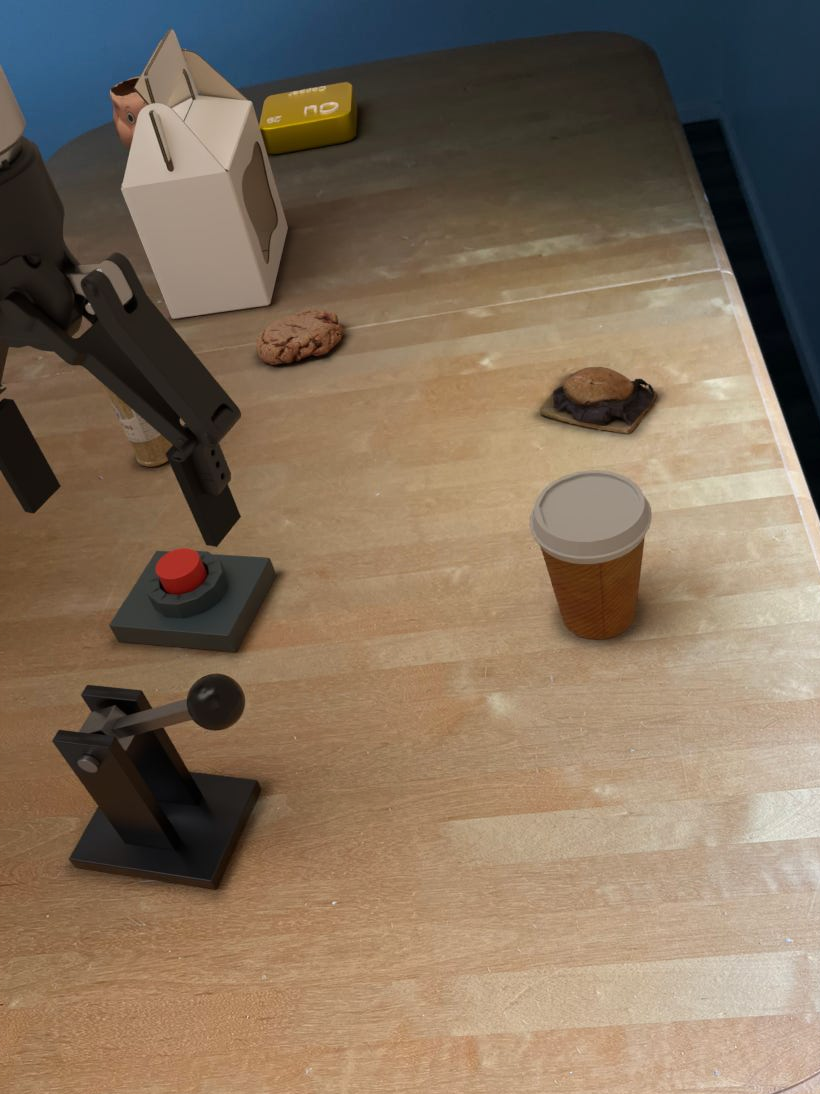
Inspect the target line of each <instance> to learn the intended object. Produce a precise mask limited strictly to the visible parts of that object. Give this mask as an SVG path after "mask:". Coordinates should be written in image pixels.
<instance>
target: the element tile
mask: <svg viewBox="0 0 820 1094" xmlns="http://www.w3.org/2000/svg"><path fill="white" fill-rule="evenodd" d="M353 87H354V86H353V85H352V83H350V82H349V81H344V82H337V83H332V84H331V83H330V84H327V85H321V86H315V87H309V88H303V89H300V90H293V91H287V92H281V93H276V94H271V95H268V96H267V97H266V98H265V99H264V101H263V106H262V111H261V115H260V121H259V123H258V124H259V128H260V131H261V135H262V138H263V142H264V145H265V149H266V152H267V155H271V156H276V155H282V154H288V153H294V152H300V151H305V150H312V149H318V148H323V147H328V146H334V145H335V146H336V145H339V144H344V143H349V142H351V141H353V140H354V139H355V138H356V136H357V128H358V127H357V123H358V106H357V101H356V97H355V91H354V88H353Z"/></svg>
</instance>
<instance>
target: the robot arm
mask: <svg viewBox="0 0 820 1094" xmlns="http://www.w3.org/2000/svg"><path fill="white" fill-rule="evenodd" d="M26 128H27V123H26V118H25V117H24V113H23V112H22V110H21V107H20V105H19V103H18V101H17V99H16V96H15V94H14V92H13V89H12V87H11V86H10V83H9V80H8V78H7V76H6V74H5V71H4V69H3V66H2V64H1V63H0V395H2V394H3V393H4V392H5V391H6V390H7V387H6V386H4V387H3V388H2V386H3V384H2V381H3V377H4V372H5V367H6V362H7V357H8V353H9V348H13V349H14V348H15V349H19V348H20V349H21V348H24V347H31V348H34V349H36V350H39V351H42V352H51V353H55V354H56V355H57V356H58V357H59V358H61V360H63V361H64V362H65V363H66V364H68V365H69V366H74V367H75V366H81V367H83V368H84V369H85V370H86V371H88V373H90V374H91V375H92V376H93V377H94V378H96V379H97V380H98V381H99V382H100V383H101V384H102V385H103V386H104V385H105V386H106V387H107V388H108V389H110V390H111V391H112V392H113V393H114V394H115V395H116V396H118V397H119V398H120V399H121V400H122V401H123V402H124V403H126V404H127V405H128V406H129V407H130V408H131V409H132V410H134V411H135V412H136V413H137V414H138V415H139V416H140V417H142V418H143V419H144V420H145V421H146V422H147V423H148V424H150V425H151V426H152V427H153V428H154V429H155V430H156V431H158V432H159V433H160V434H161V435H162V436H163V437H164V438H166V439H167V440H168V441H169V442H170V443H171V444H172V445H173V446H172V447H171V448H170V449H169V450H168V451H167V452H166V453H165V454H166V456H167V459H168V461H167V462H168V464H170V468H171V470H172V471H173V474H174V476H175V479H176V481H177V483H178V485H179V488H180V490H181V492H182V494H183V496H184V499H185V501H186V503H187V506H188V508H189V510H190V512H191V514H192V517H193V520H194V521H195V523H196V526H197V527H198V530H199V532H200V535H201V537H202V539H203V541H204V544H205V546H208V547H215V548H218V547H219V545H221V543H222V541H223V540H224V539H225V538H226V537H227V536H228V535H229V533H230V531H231V530H232V529H233V528H234V526H235V525H236V524H237V523H238V521H239V520H240V519H241V518H242V516H241V513H240V511H239V508H238V505H237V503H236V501H235V498H234V496H233V493H232V491H231V489H230V485H229V483H230V482H231V481H232V472H231V470H230V467H229V465H228V462H227V459H226V457H225V454H224V452H223V449H222V447H221V444H220V443H221V441H222V440H223V439H224V438H225V437H226V436H227V434H228V433H229V432H230V431H231V430H232V429H233V427H234V426H235V425H236V424H237V423H238V421H240V419H241V418H242V412H241V409H240V407H239V406H238V405H237V404H236V403H235V401H234V400H233V399H232V398H231V396H229V394H228V393H227V391H225V389H224V388H223V387H222V386H221V384H220V382H218V381H217V379H215V377H214V376H213V374H212V373H211V372H210V371H209V370H208V368H207V367H206V366H205V364H203V362H202V361H201V360H200V359H199V357H198V356H197V355H196V354H195V352H194V351H193V350H192V349H191V347H190V346H189V345H188V344H187V342H185V340H184V339H183V338H182V337H181V335H180V334H179V333H178V331H176V330H175V329H176V328H174V327H173V326H172V324H171V323H170V322H169V321H168V319H167V318H166V317H165V316H164V315H163V313H162V312H161V311H160V309H158V307H157V306H156V305H155V303H154V302H153V301H152V300H151V299H150V298H149V296H148V295H147V293H146V291H145V289H144V286H143V285H142V283H141V280H140V279H139V277H138V275H137V272H136V271H135V268H134V267H133V265H132V263H131V262H130V260H129V259H128V258H127V257H126V256H125V255H124V254H122V253H120V252H113V253H111V254H109V256H107V257H106V258H105V259H104V260H103V261H102V262H101V263H91V264H81V262H80V261H79V260H78V259H77V258H76V257H75V255H74V254H73V253H72V252H71V250H70V249H69V247H68V246H67V244H66V242H65V239H64V221H65V215H66V214H65V213H66V212H65V206H64V203H63V201H62V199H61V196H60V194H59V192H58V189H57V187H56V185H55V183H54V181H53V178H52V176H51V174H50V171H49V169H48V167H47V164H46V161H45V160H44V158H43V155H42V153H41V151H40V149H39V146H38V145H37V144H36V143H35V142H34V141H32V140H30V139H28V138H27V136H26V137H25V136H23V135H24V132H25V129H26ZM83 317H84V319H86V320H87V321H88V322H89V323H90V324H91V326H90V327H89V328H88V329H86V330H85V331H84V332H83V333H82V334H80V336H79V337H73V336H74V335H76V334H77V333H78V332H79V330H80V329H81V326H82V321H83ZM181 420H182V422H183V423H184V424H182V423H181ZM51 467H52V466H50V463H49V461H48V459H47V458H46V456H45V454H44V453H43V451H42V449H41V447H40V446H39V443H38V442H37V440H36V438H35V437H34V434H33V432H32V430H31V429H30V427H29V425H28V424H27V422H26V419H25V417H24V416H23V414H22V413H21V410H20V409H19V407H18V405H17V404H16V401H15V399H13V398H7V397H6V398H5V397H3V398H2V399H1V400H0V472H1V474H2V476H3V478H4V479H5V481H6V482H7V484H8V486H9V487H10V489H11V490H12V493H13V494H14V496H15V498H16V499H17V501H18V503H19V504H20V506H21V508H22V509H23V511H24V512H25V513H28V514H34V515H35V514H36V513H37V511H38V510H40V508H42V507H43V505H44V504H45V503H47V501H48V500H49V499H50V498H52V496H53V495H54V494H55V493H56V492H57V491H59V489H60V488H61V487H62V485H61V483H60V482H59V480H58V478H57V476H56V474H55V473H54V471H53V469H52V468H51Z"/></svg>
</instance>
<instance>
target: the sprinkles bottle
mask: <svg viewBox="0 0 820 1094" xmlns="http://www.w3.org/2000/svg"><path fill="white" fill-rule="evenodd" d="M103 387H104V389H105V391H106V393H107V395H108V398H109V400H110V403H111V405H112V407H113V410H114V412H115V414H116V416H117V418H118V420H119V423H120V425H121V428H122V429H123V432H124V434H125V436H126V438H127V439H128V441H129V443H130V446H131V448H132V451H133V452H134V454H135V459H136V461H137V463H138V464H139V465H140V466H143V467H148V468H151V467H158V466H161V465H163V464H165V463H167V462H169V461H168V459H167V456H166V454H165V453H166V452H167V451H168V450H169V449H170V448H171V447H172V446H173V445H172V444H171V443H170V442H169V441H168V440H167V439H166V438H164V437H163V436H162V435H161V434H160V433H159V432H158V431H156V430H155V429H154V428H153V427H152V426H151V425H150V424H148V423H147V422H146V421H145V420H144V419H143V418H142V417H140V416H139V415H138V414H137V413H136V412H135V411H134V410H132V409H131V408H130V407H129V406H128V405H127V404H126V403H124V402H123V401H122V400H121V399H120V398H119V397H118V396H116V395H115V394H114V393H113V392H112V391H111V390H110V389H108V388H107V387H106V386H105V385H104V384H103Z"/></svg>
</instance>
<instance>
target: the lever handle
mask: <svg viewBox="0 0 820 1094" xmlns="http://www.w3.org/2000/svg"><path fill="white" fill-rule="evenodd" d="M245 708H246V695H245V692H244V689H243V688H242V686H241V684H239V682H238V681H237V680H235V679H234V678H233V677H231V676H230V675H227V674H224V673H210V674H205V675H204V676H202V677H200V678H198V679H197V680H195V682H193V684H192V685H191V687H190V689H189V690H188V692H187V695H186V698H183V699H181V700H178V701H177V700H176V701H174V702H170V703H166V704H164V705H159V706H156V707H152V709H149V710H145V711H141V712H138V713H134V714H131V715H126V714H125V713H124V712H123V711H122V710H121V709H119V708H118V707H117V706H116V705H114V706H111V707H107V708H104V709H100V710H97V711H93V712H91V711H90V712H89V714H88V715H87V717H86V719H85V721H84V722H83V724H82V726H81V727H80V729H79V731H78V732H83V733H92V734H100V735H109V736H115V737H116V738H117V739H118V741H119V743H120V744H121V746H122V747H123V749H124V750H125V751H126V750H127V748H128V747H129V745H130V743H131V741H132V739H133V738H134V736H135V735H137V734H141V733H145V732H148V731H152V730H156V729H160V728H164V729H165V728H167V727H171V726H175V725H178V724H182V723H186V722H189V721H193V722H194V723H195V724H196V725H197V726H198V727H200V728H202V729H205V730H208V731H212V732H213V731H215V732H219V731H223V730H227V729H229V728H231V727H233V726H234V725H235V724H236V723H238V721H239V720H240V719H241V718H242V716H243V714H244V712H245Z"/></svg>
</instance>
